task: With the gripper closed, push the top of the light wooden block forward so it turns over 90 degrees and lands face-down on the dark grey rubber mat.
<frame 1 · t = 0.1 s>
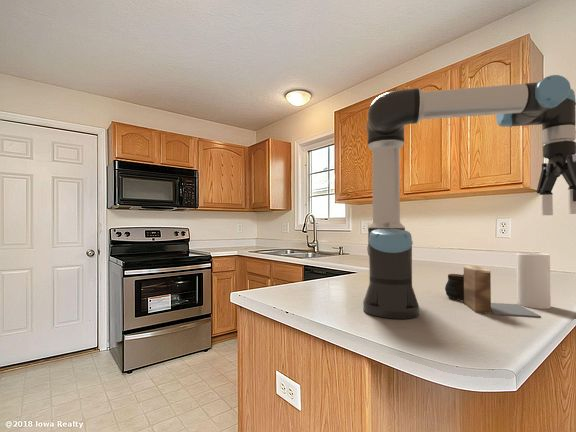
hand: (560, 214, 93), 28 cm above the counter, fingers open, 13 cm apart
mat: (506, 309, 93), on the counter
mate gourd: (457, 299, 107), on the counter
cup: (533, 306, 98), on the counter
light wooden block: (476, 308, 94), on the counter
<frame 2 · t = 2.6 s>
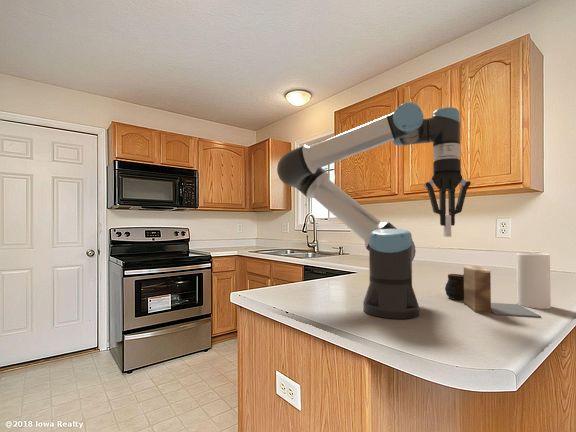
hand: (447, 236, 97), 21 cm above the counter, fingers closed
nothing on the counter moved.
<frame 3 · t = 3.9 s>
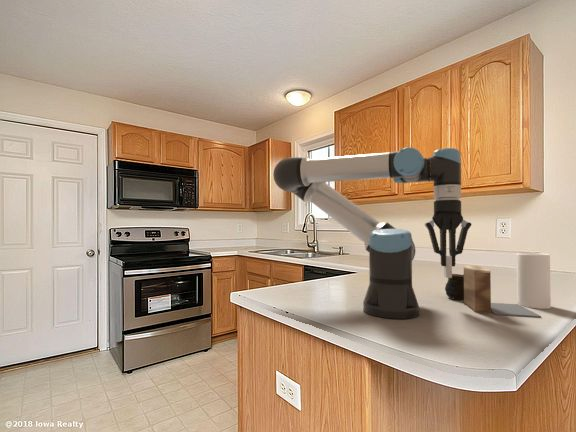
hand: (448, 277, 96), 9 cm above the counter, fingers closed
nothing on the counter moved.
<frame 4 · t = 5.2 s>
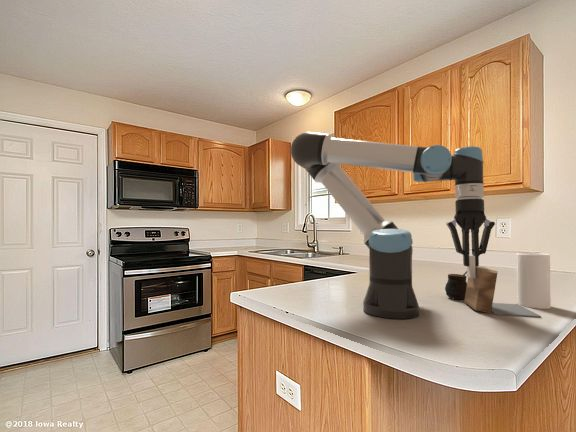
hand: (471, 277, 95), 9 cm above the counter, fingers closed
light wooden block: (476, 307, 94), on the counter, tilted 9°, touching gripper
everything else where it was.
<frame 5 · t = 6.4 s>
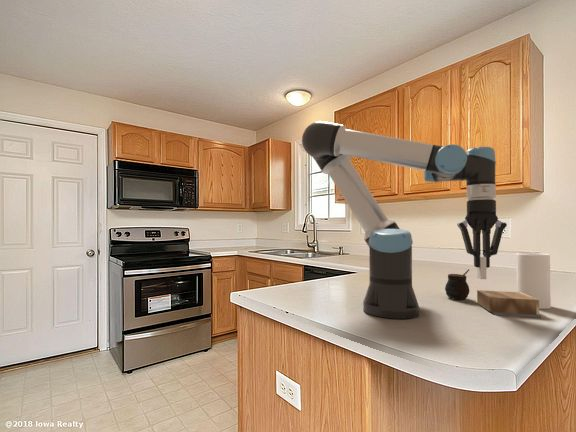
hand: (481, 278, 94), 9 cm above the counter, fingers closed
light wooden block: (483, 300, 94), point 2 cm above the counter, tilted 90°, touching mat
everything else where it was.
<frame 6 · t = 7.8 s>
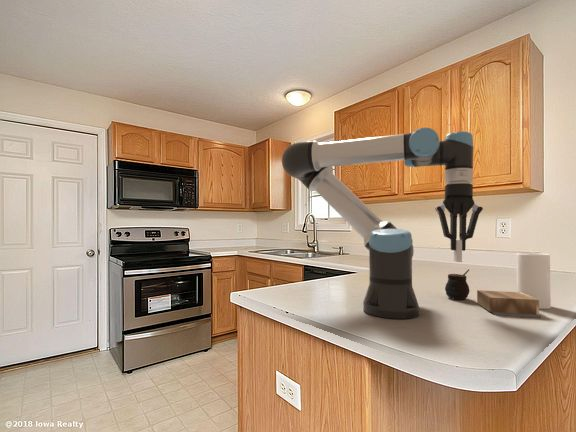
hand: (457, 261, 96), 14 cm above the counter, fingers closed
nothing on the counter moved.
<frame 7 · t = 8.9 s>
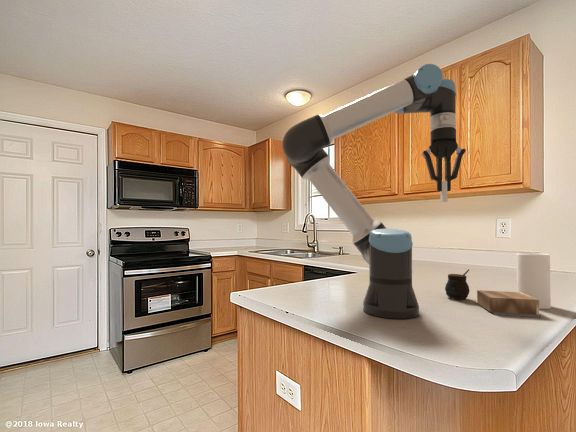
hand: (443, 201, 103), 32 cm above the counter, fingers closed
nothing on the counter moved.
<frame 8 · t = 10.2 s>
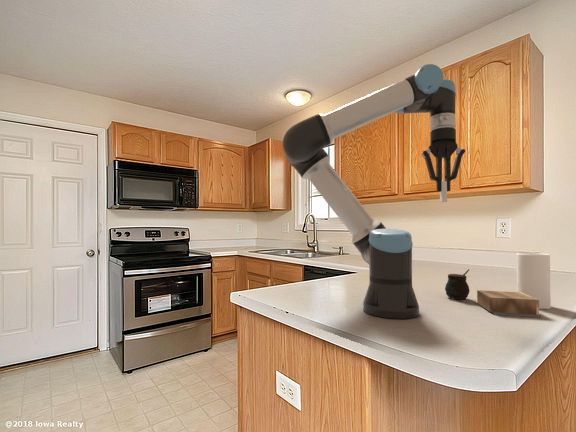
hand: (443, 201, 103), 32 cm above the counter, fingers closed
nothing on the counter moved.
at the end: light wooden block tilted 90°; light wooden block inside the target area (5.2 cm from its centre), point 2.4 cm above the counter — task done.
